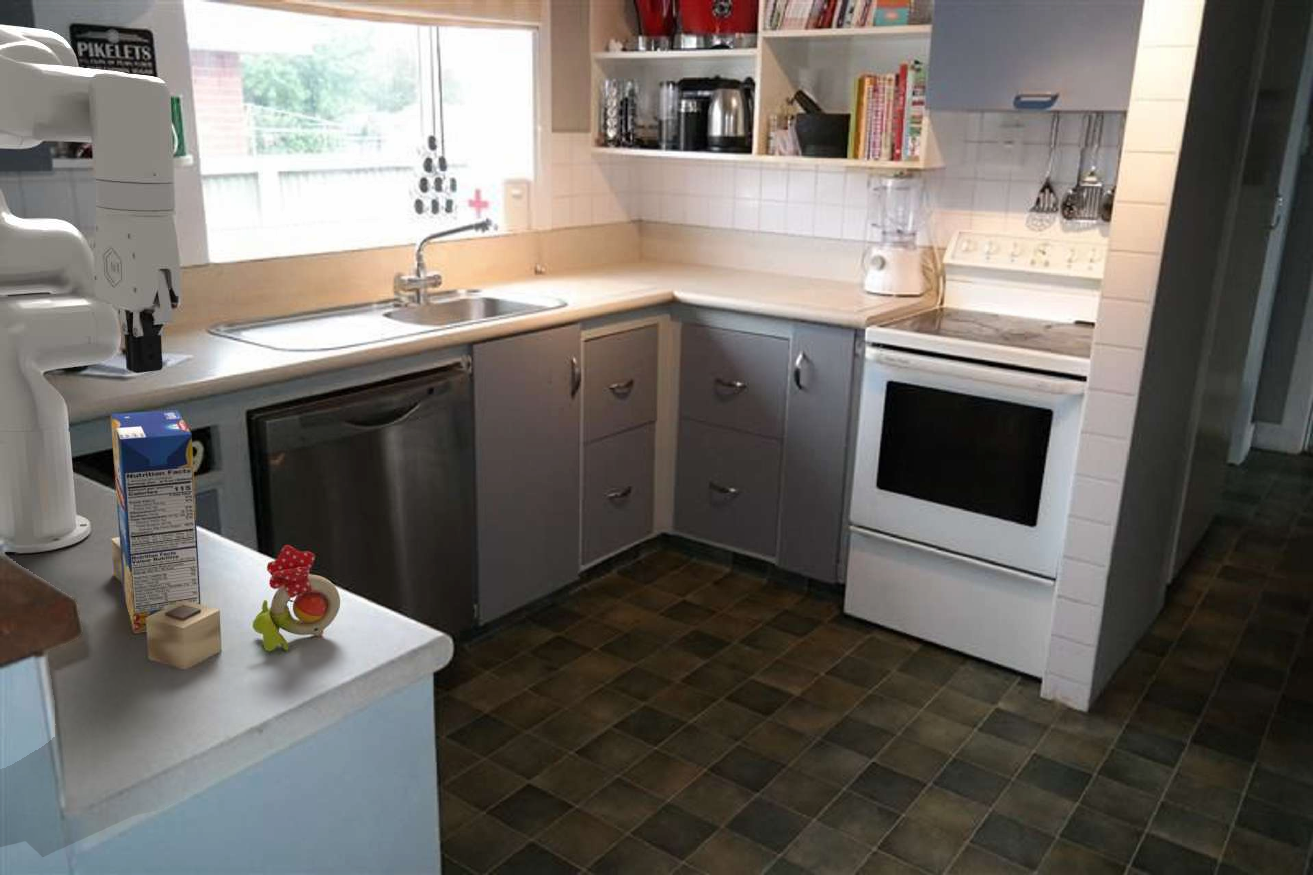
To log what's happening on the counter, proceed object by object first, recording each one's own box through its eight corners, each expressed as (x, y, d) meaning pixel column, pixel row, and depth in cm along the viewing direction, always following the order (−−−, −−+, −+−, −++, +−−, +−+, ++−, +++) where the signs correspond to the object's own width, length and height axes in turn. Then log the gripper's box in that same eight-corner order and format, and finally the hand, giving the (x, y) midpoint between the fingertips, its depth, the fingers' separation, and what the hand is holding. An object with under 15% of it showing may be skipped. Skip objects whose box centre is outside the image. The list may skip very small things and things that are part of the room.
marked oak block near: (148, 659, 112) (145, 614, 110) (185, 640, 116) (183, 597, 115) (185, 670, 110) (182, 625, 109) (221, 651, 114) (219, 607, 113)
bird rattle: (310, 640, 122) (232, 624, 117) (348, 552, 122) (272, 532, 117) (324, 665, 117) (243, 648, 112) (364, 573, 117) (285, 552, 112)
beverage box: (134, 633, 117) (120, 439, 111) (123, 595, 126) (110, 414, 120) (201, 622, 120) (191, 434, 114) (186, 586, 129) (176, 409, 123)
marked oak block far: (113, 575, 131) (110, 536, 130) (156, 566, 134) (154, 528, 133) (127, 589, 128) (124, 549, 126) (170, 579, 131) (168, 540, 130)
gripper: (64, 191, 113) (76, 361, 118) (136, 206, 104) (146, 389, 109) (134, 191, 119) (143, 353, 124) (208, 206, 110) (214, 379, 115)
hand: (144, 369), depth 117 cm, fingers closed
